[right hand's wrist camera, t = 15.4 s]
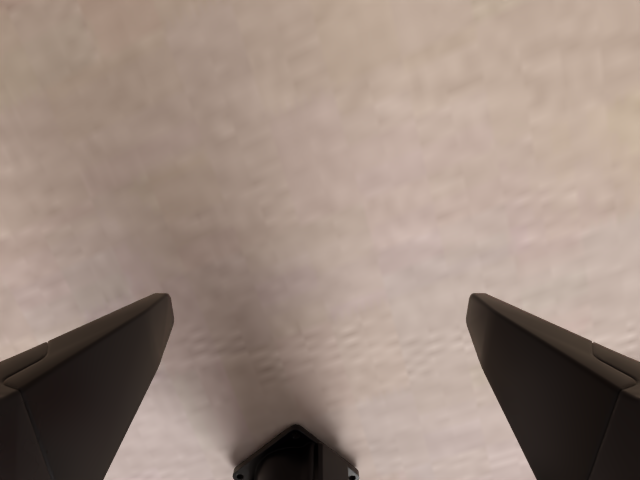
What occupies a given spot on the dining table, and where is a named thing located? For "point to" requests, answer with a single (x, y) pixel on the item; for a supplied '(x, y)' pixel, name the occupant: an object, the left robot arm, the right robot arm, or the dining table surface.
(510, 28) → the dining table surface
